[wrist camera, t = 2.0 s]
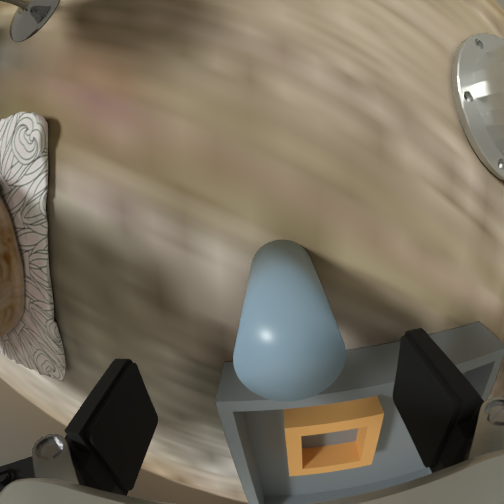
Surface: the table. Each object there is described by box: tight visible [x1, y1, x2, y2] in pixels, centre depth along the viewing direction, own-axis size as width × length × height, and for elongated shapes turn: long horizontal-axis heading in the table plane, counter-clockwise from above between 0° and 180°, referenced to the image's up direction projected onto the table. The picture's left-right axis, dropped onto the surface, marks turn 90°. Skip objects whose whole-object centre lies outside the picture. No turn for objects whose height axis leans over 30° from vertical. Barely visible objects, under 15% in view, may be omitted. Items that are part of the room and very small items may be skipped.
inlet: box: [284, 396, 384, 476], centre depth 21 cm, size 8×8×2 cm
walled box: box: [215, 322, 504, 504], centre depth 22 cm, size 22×22×4 cm
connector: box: [233, 240, 346, 401], centre depth 15 cm, size 4×4×10 cm
